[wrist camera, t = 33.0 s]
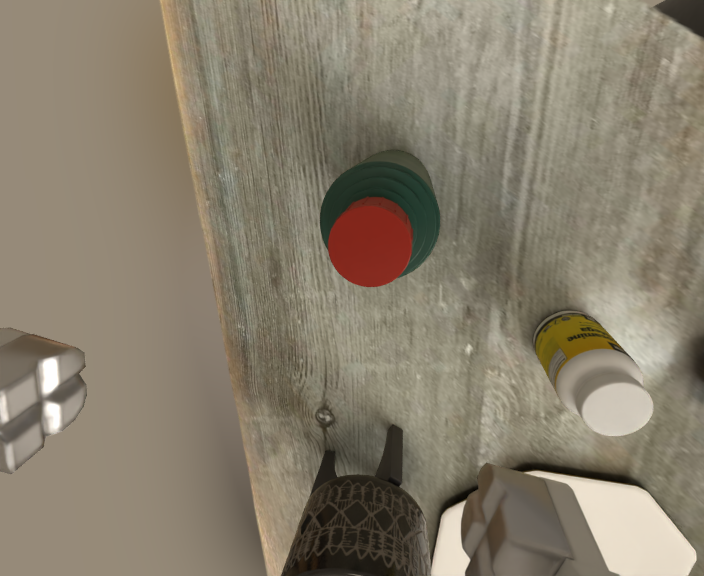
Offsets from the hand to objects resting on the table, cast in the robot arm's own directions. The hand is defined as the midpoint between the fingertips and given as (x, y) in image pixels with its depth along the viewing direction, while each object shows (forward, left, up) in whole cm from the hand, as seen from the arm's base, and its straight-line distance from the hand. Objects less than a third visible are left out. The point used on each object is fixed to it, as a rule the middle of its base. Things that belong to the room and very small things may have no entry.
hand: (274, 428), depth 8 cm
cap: (-1, 0, -12) cm, 12 cm away
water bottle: (-1, 0, -31) cm, 31 cm away
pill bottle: (+5, +21, -31) cm, 38 cm away
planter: (+28, +11, -31) cm, 44 cm away
